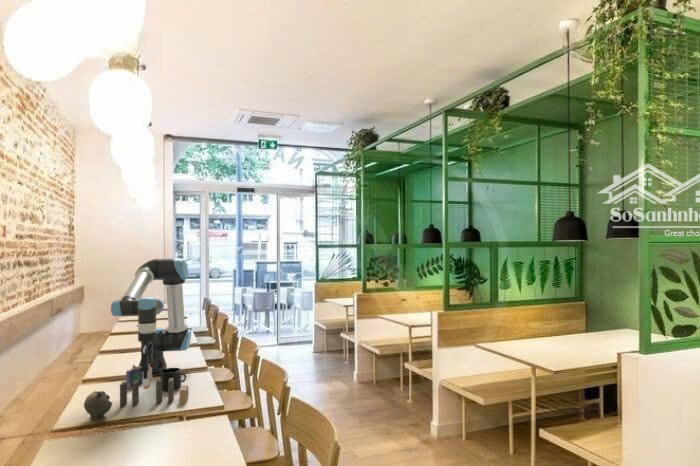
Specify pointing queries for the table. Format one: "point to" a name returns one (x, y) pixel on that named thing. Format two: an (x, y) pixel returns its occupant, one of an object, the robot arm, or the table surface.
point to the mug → (171, 373)
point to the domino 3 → (149, 379)
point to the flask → (133, 376)
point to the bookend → (183, 394)
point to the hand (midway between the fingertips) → (147, 383)
